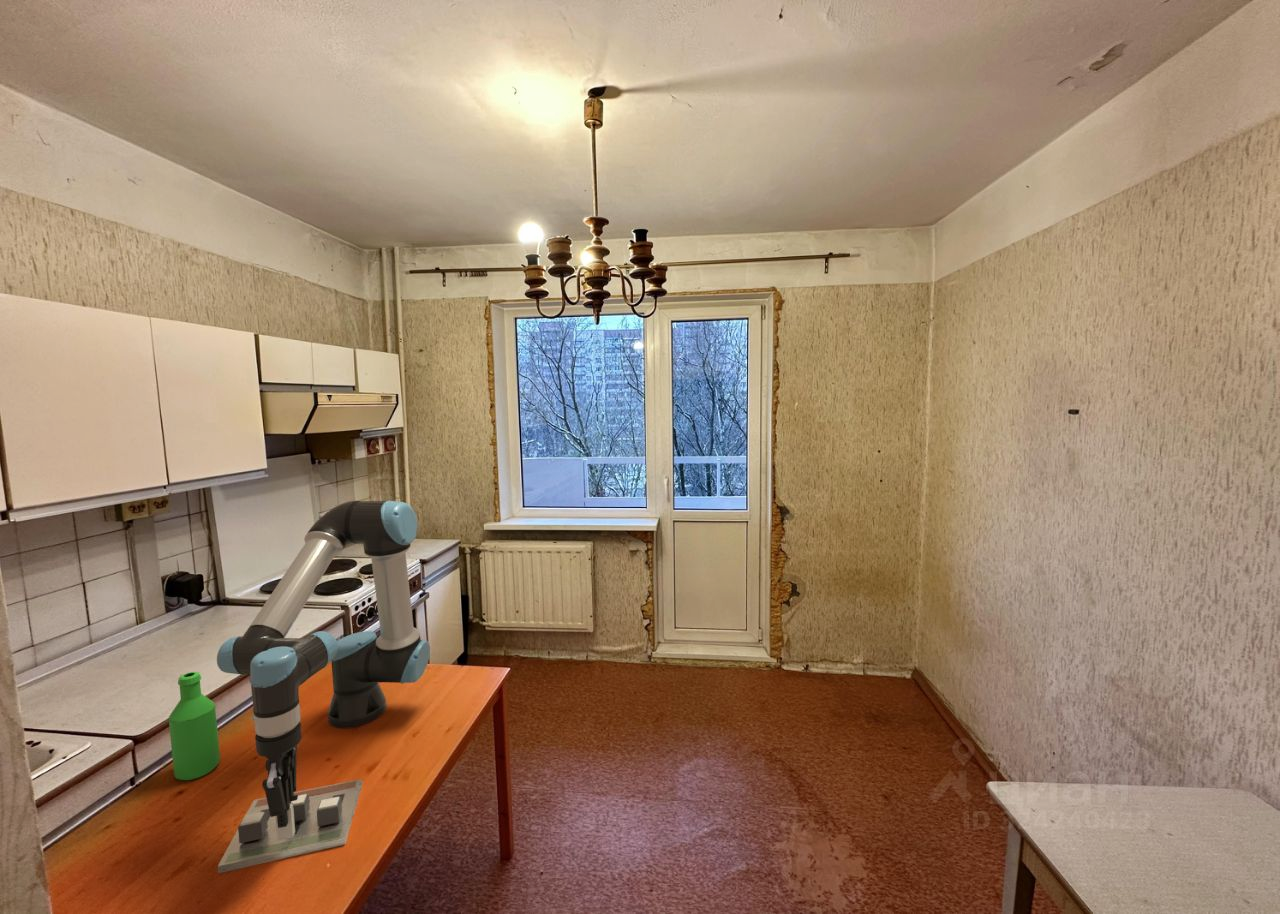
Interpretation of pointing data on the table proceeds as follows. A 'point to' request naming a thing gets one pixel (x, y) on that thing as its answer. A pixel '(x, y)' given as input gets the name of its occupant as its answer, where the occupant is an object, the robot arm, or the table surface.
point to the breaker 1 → (252, 827)
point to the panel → (306, 831)
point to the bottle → (193, 731)
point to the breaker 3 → (329, 811)
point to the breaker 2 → (301, 807)
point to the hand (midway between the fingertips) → (286, 836)
